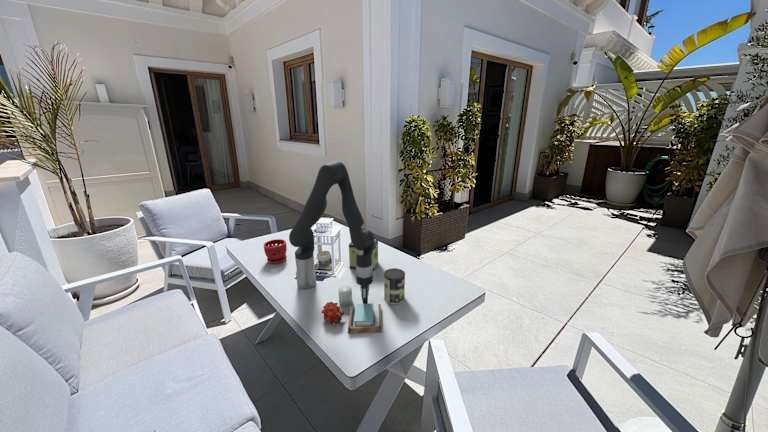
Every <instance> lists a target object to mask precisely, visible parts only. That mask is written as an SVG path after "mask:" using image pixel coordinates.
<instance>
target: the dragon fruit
mask: <svg viewBox="0 0 768 432" xmlns="http://www.w3.org/2000/svg"><path fill="white" fill-rule="evenodd" d="M338 305H339V302H333V301H330V302H326V304H325V305H323V307H322V308H323V309H322V310H321V314H323V319H324V321H325V322H326V321H327V322H329V323H331V325H332V324H333V325H337V322H338V323H339V322H342V319H343V316H344V314H345V311H343V310H342V308H341V306H338Z"/></svg>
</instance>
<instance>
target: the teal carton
mask: <svg viewBox="0 0 768 432" xmlns="http://www.w3.org/2000/svg"><path fill="white" fill-rule="evenodd" d="M353 321H354V322H353V323H354V326H353V327H357V326H374V303H373V302H372V303H371V302H370V303H368V304H363V303H355V310H354V320H353Z"/></svg>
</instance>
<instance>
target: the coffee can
mask: <svg viewBox="0 0 768 432" xmlns="http://www.w3.org/2000/svg"><path fill="white" fill-rule="evenodd" d="M405 276H406V272H405V271H404V270H403V269H400V268H388V269H386V270H385V271H384V272H383V282H384V283H383V292H384V293H383V294H384V295H383V299H384V301H385V303H388V304H390V305H399V304H402V303H403V302H404V301H405V289H406V288H405V286H406V285H405V284H406V280H405V279H406V277H405Z"/></svg>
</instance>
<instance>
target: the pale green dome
mask: <svg viewBox="0 0 768 432" xmlns="http://www.w3.org/2000/svg"><path fill="white" fill-rule="evenodd" d="M352 289H353V288H352V287H351V286H349V285H343V286H340V287H338V290H337V292H338V305H341V306H343V307H344V306H345V307H347V306H351V305H352V303H353V290H352Z"/></svg>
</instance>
